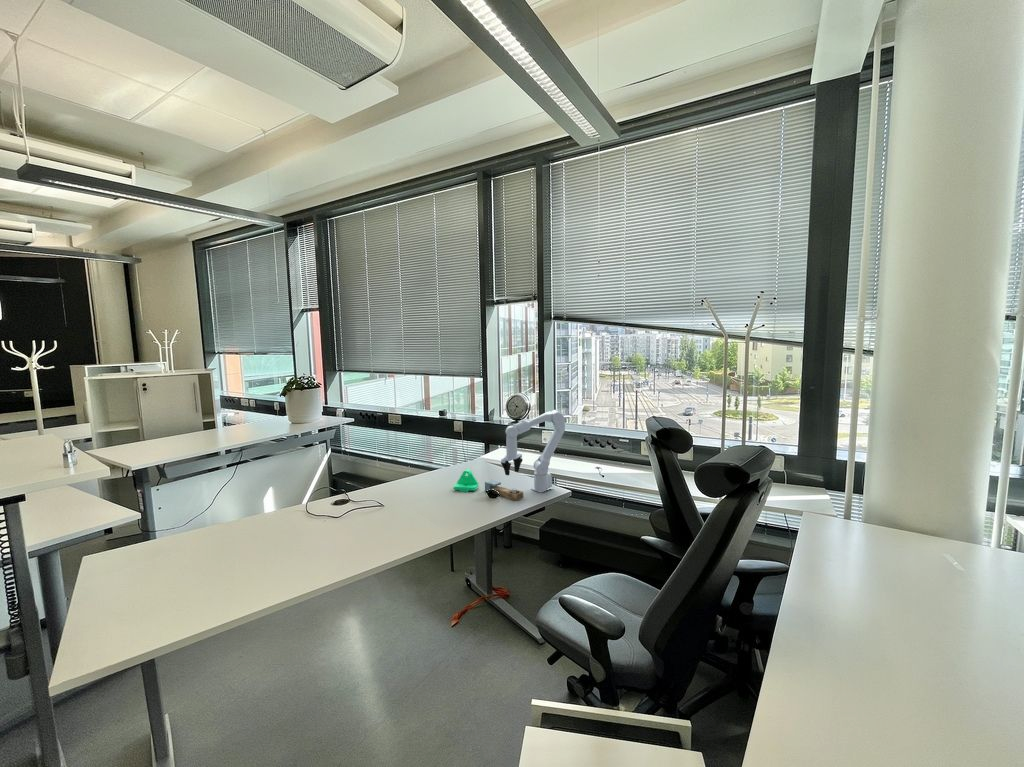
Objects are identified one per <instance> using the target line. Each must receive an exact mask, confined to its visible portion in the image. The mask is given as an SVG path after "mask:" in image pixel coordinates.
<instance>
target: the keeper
mask: <svg viewBox="0 0 1024 767" xmlns="http://www.w3.org/2000/svg"><path fill="white" fill-rule="evenodd" d="M500 485H502V482H501V481H498V480H494V479H489V480H486V481H484V492H486V491H487V490H489V489H491V488H493V487H495V486H500Z"/></svg>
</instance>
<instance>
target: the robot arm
mask: <svg viewBox="0 0 1024 767" xmlns="http://www.w3.org/2000/svg"><path fill="white" fill-rule="evenodd" d="M565 421H566V418H565V416H564V414H563V413H562V412H560V411H558V410H557V409H552V410H550V411H546V412H544V413H542V414H540V415H538V416H536V417H534V418H531V419H530V420H527V419H521V420H520V421H519V422H517V423H513V424H512V425H508V426H507V427H506V428H505V430H504V431H505V435H506V438H505V439H506V440H505V441H506V444H505V445H506V449H505V450H506V455H505V456H504V457H503V458H501V461H500V464H501V466H502V468H503V471H504V473H505V476H510V474H511V473H510V469H511V465H512V463H511V462H510V461H512V462H513V465H514V468H513V469H514V472H516V473H519V471H520V468H521V465H522V462H523V454H522V453H518V438H517V437H518V435H521V434H523V433H525V432H528V431H530V430H531V428H532V427H533V426H536V425H538V424H541V423H544V422H547V423H551V424H552V425H553V429H554V430H553V431H552V434H551V436H550V438H549V439H548V441H547V443H546V445H545V447H544V449H543V451H542V453H541V454H540V455H539V456H538V458H537V459H536V460H535V461H534V462H533V468H534V472H533V475H534V476H533V481H534V482H533V484H534V485H533V487H531V488H530V489H531V490H532V491H535V492H537V493H544V491H545V492H547V491H546V490H547V489H548V488H550V487H552V488H553V477H552V474H551V472H548V471H549V466H550V463H551V458H552V456H553V454H554V453H555V451H556V448H557V446H558V445H559V443H560V441H561V439H562V437H563V435H564V433H565V431H566V422H565Z"/></svg>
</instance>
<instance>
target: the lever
mask: <svg viewBox="0 0 1024 767" xmlns="http://www.w3.org/2000/svg"><path fill="white" fill-rule="evenodd" d="M491 489H494V490H496V491H498V492H499V494H500V496H499V497H503V498H506V499H508V500H511V501H515V502H517V501H519V500H521V499H524V495H525V494H524V491H522V490H518V489H517V494H513V493H512V488H511V489H510V488H507V487H503V486H500V485H498V486H495V487H493V488H491Z"/></svg>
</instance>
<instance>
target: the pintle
mask: <svg viewBox="0 0 1024 767" xmlns="http://www.w3.org/2000/svg"><path fill="white" fill-rule="evenodd" d="M511 490H512V493H513V494H517V490H518V489H516V488H511Z"/></svg>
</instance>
